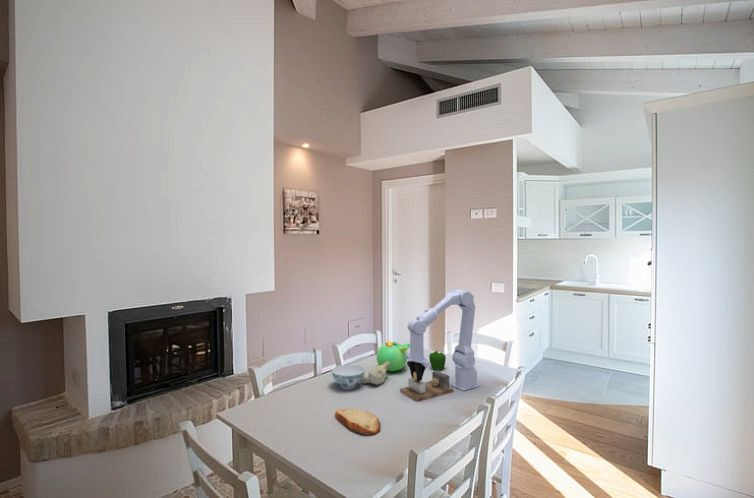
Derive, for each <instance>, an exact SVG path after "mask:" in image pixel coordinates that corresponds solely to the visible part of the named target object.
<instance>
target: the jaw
mask: <svg viewBox="0 0 754 498" xmlns="http://www.w3.org/2000/svg"><path fill="white" fill-rule="evenodd" d="M407 383H408V385H407V387H408V388H409V389H411V390H413V391H415V392H417V393H419V394H422V393H425V382H424V381H422V380H421V381H417V376H416V371H413V378H412V377H410V378H408V382H407Z"/></svg>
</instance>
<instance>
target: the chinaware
mask: <svg viewBox="0 0 754 498" xmlns="http://www.w3.org/2000/svg"><path fill="white" fill-rule="evenodd" d="M365 372H366V369H365V367H364V366H362V365H359V364H340V365H337V366H334V367H333V368H331V373H332V377H333V380H334V381H335V382H336V383H337V384H338V385H339V386H340V388H342V389H344V390H353V389H355V388H357V385H359V383H361V382H360V381H361V380H362V378H363V376H365Z"/></svg>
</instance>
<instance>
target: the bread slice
mask: <svg viewBox="0 0 754 498" xmlns="http://www.w3.org/2000/svg"><path fill="white" fill-rule="evenodd" d="M334 418H335V419H336V420H337V421H338V422H339V423H341V424H342V425H343V426H344V427H346V428H347V429H350V430H351V431H354V432H356V433H359V434H361V435H364V436H369V437H370V436H376V435H378V434H379V433H381V427H382V425H381V422H380V420H379V418H378V417H377V416H376V415H375V414H373V413H371V412H368V411H365V410H364V411H363V410H359V409H357V408H356V409H354V408H340V409H336V410H335V413H334Z"/></svg>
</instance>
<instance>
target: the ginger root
mask: <svg viewBox="0 0 754 498" xmlns="http://www.w3.org/2000/svg"><path fill="white" fill-rule="evenodd" d="M389 365H390V363H389V362H386V363H384V364H382V365H380V366H379V365H376V366H374V367H372V369H370V370H369V371H368V373H367V374H366V375H364V376H363V378H362V380H361V381H360V382H359V383H361V384H363V385H364V384H374V385H375V386H377V385H382V384H383V382H384V381H385V380H386V377H385V376H386V374H387V369H388V367H389Z"/></svg>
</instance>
